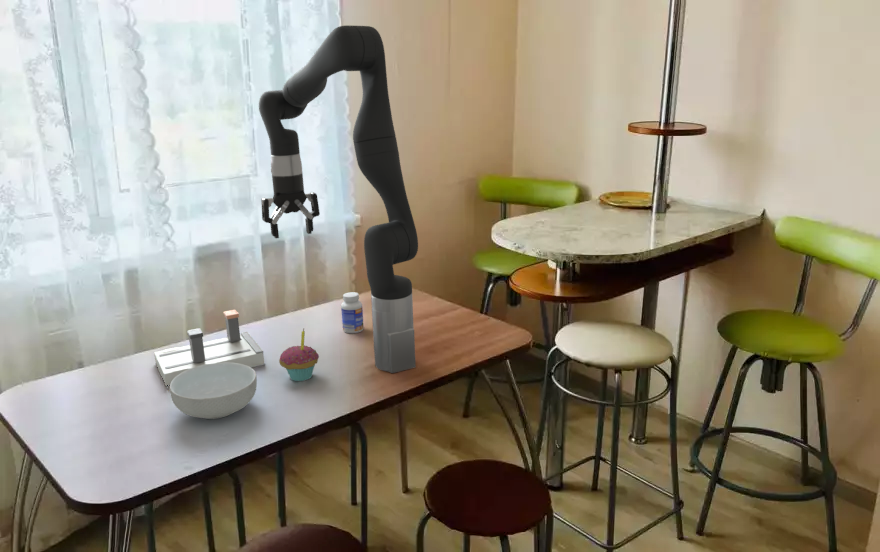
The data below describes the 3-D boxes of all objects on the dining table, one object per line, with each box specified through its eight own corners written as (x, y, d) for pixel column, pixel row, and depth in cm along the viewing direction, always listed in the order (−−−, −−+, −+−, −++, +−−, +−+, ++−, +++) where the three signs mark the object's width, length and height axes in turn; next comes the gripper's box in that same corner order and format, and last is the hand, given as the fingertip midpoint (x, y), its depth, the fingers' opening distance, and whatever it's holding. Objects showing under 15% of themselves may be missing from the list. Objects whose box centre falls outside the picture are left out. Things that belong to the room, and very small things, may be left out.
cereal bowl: (213, 439, 139) (208, 405, 137) (156, 418, 148) (151, 386, 146) (276, 402, 153) (273, 371, 151) (221, 385, 161) (217, 355, 159)
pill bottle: (360, 334, 188) (357, 298, 185) (339, 333, 189) (337, 297, 186) (366, 326, 193) (364, 291, 190) (346, 325, 194) (344, 290, 191)
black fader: (206, 361, 166) (202, 332, 164) (193, 364, 164) (189, 335, 162) (203, 356, 169) (199, 328, 166) (190, 358, 167) (186, 330, 165)
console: (264, 364, 171) (263, 350, 170) (166, 386, 161) (163, 372, 160) (248, 344, 183) (247, 331, 182) (155, 363, 173) (153, 350, 172)
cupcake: (327, 372, 166) (323, 322, 163) (305, 388, 159) (301, 336, 155) (295, 366, 170) (291, 317, 166) (273, 381, 162) (268, 331, 159)
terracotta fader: (241, 340, 177) (238, 313, 175) (229, 342, 176) (226, 315, 174) (238, 335, 180) (235, 309, 178) (226, 338, 178) (223, 311, 176)
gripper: (262, 177, 177) (269, 242, 182) (319, 171, 183) (324, 234, 188) (255, 173, 184) (261, 236, 188) (310, 167, 190) (315, 229, 194)
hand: (293, 235), depth 188 cm, fingers open, 8 cm apart
